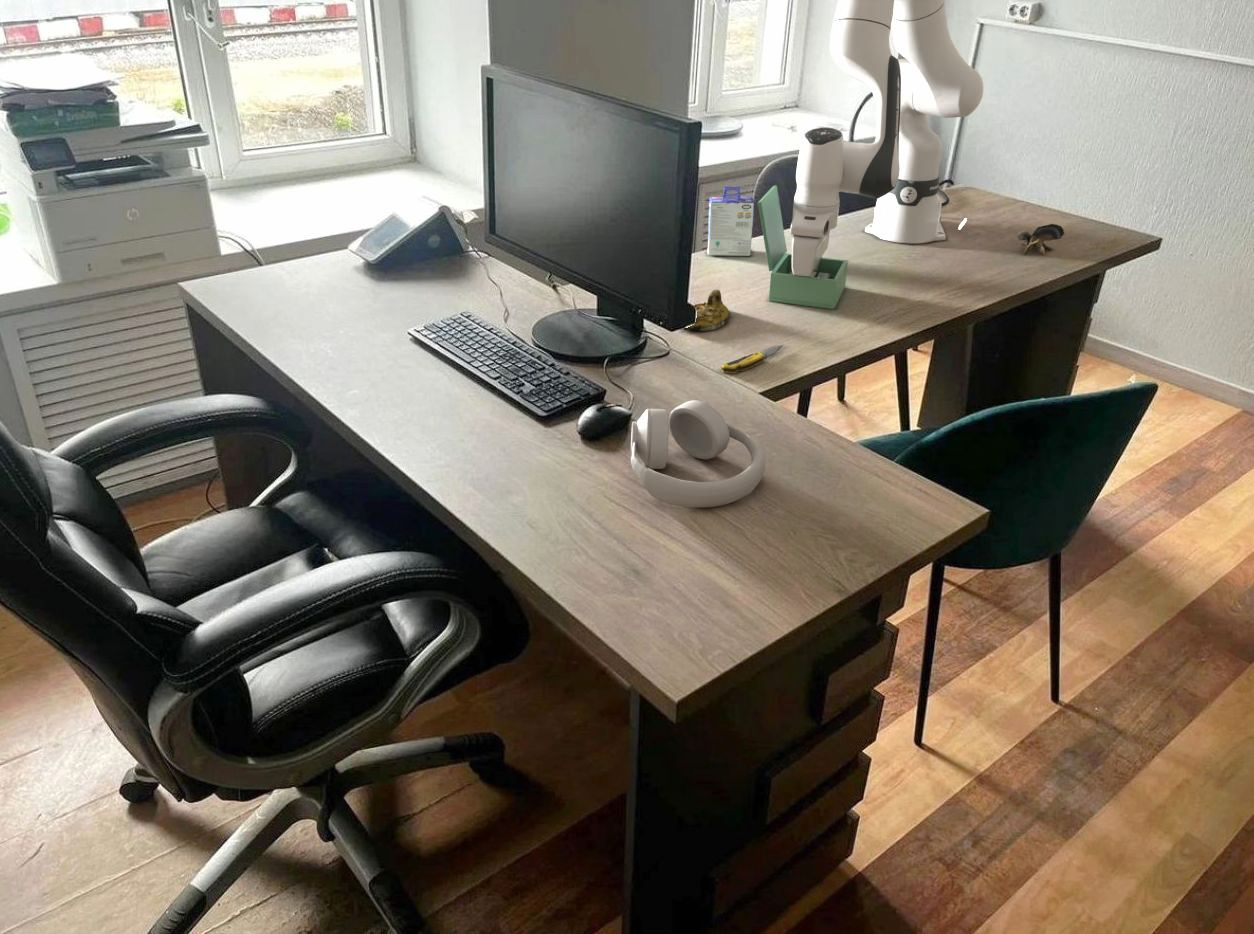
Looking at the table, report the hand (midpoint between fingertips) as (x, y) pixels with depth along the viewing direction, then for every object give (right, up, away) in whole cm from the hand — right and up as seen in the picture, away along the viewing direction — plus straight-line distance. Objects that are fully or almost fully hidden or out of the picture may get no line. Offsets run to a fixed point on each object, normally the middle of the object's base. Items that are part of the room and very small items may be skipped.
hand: (808, 283), depth 203 cm
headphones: (-28, -39, -63) cm, 79 cm away
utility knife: (-14, -19, -28) cm, 37 cm away
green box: (0, -2, +1) cm, 2 cm away
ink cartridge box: (-14, +11, +24) cm, 30 cm away
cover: (-7, +11, -3) cm, 13 cm away
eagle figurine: (+57, +12, +26) cm, 64 cm away
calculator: (0, -1, +1) cm, 1 cm away
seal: (-22, -9, -12) cm, 27 cm away
